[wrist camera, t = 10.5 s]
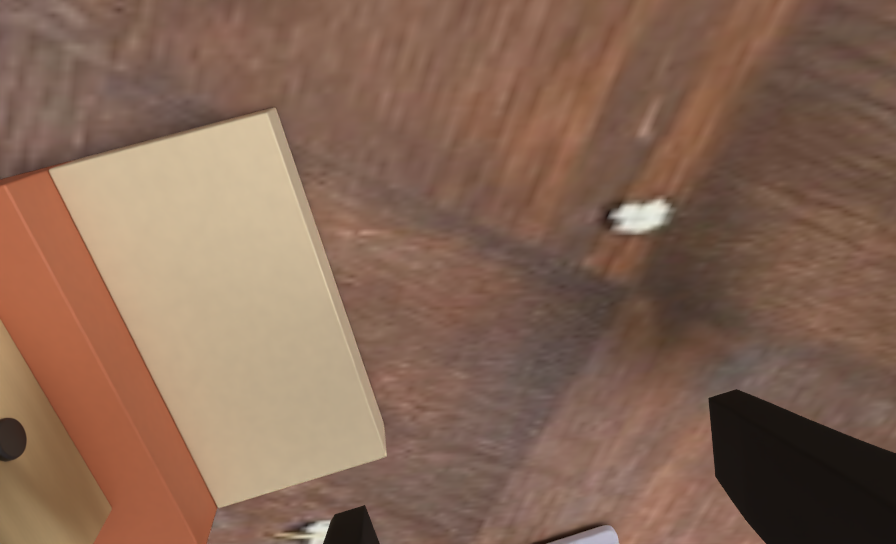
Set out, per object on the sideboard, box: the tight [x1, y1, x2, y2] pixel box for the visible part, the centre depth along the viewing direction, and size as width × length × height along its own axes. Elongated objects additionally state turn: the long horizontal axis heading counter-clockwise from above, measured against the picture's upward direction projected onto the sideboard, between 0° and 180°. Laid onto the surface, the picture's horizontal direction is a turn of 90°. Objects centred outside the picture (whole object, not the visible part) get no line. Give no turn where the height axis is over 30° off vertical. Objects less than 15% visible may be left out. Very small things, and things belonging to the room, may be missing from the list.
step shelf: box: [0, 108, 387, 544], centre depth 16 cm, size 12×18×6 cm, turn 104°
